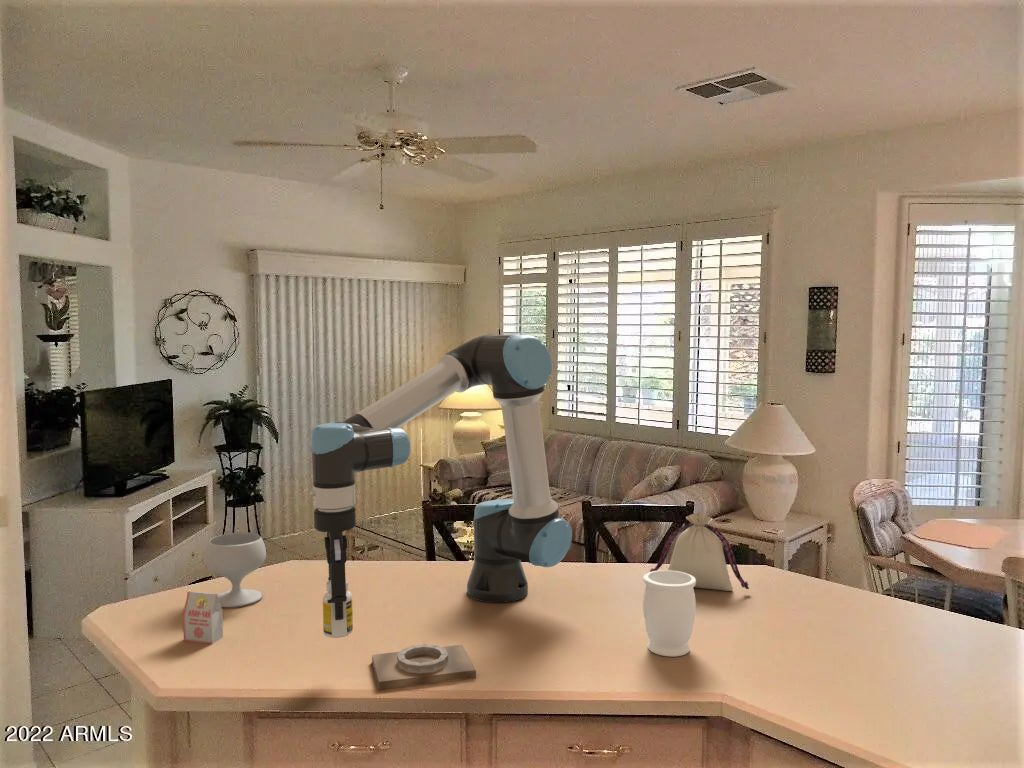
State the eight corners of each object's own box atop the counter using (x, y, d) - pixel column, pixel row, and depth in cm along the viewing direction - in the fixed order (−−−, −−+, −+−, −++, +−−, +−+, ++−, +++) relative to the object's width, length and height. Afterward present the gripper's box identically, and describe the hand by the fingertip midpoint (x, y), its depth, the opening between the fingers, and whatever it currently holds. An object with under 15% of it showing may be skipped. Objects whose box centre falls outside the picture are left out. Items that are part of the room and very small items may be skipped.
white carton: (194, 634, 162) (193, 588, 161) (223, 637, 160) (221, 591, 160) (183, 641, 158) (182, 594, 158) (212, 644, 157) (211, 596, 156)
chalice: (279, 596, 185) (278, 536, 184) (230, 614, 173) (229, 550, 172) (241, 586, 193) (240, 528, 192) (192, 602, 181) (191, 540, 180)
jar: (664, 664, 148) (665, 588, 147) (632, 644, 157) (633, 573, 156) (705, 653, 153) (707, 580, 152) (672, 635, 162) (673, 566, 161)
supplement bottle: (346, 639, 139) (344, 587, 138) (318, 637, 140) (316, 586, 140) (357, 628, 145) (356, 578, 144) (331, 626, 146) (329, 576, 145)
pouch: (749, 587, 193) (750, 514, 192) (748, 598, 185) (750, 521, 184) (650, 577, 200) (651, 506, 199) (645, 587, 193) (647, 514, 191)
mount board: (462, 651, 153) (462, 637, 153) (475, 677, 142) (475, 662, 142) (372, 662, 148) (372, 647, 148) (378, 689, 137) (378, 673, 137)
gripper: (312, 497, 148) (316, 613, 150) (315, 521, 131) (319, 651, 133) (351, 494, 150) (354, 608, 152) (359, 517, 133) (363, 645, 135)
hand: (338, 628), depth 142 cm, fingers closed on supplement bottle, 5 cm apart
